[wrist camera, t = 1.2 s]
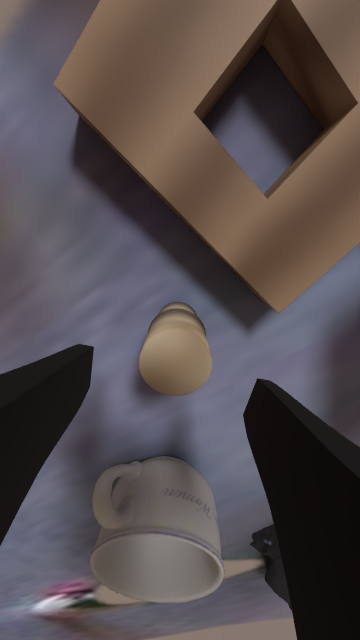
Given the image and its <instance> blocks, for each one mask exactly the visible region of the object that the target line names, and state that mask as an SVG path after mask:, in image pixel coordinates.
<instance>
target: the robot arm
mask: <svg viewBox="0 0 360 640" xmlns="http://www.w3.org/2000/svg"><path fill="white" fill-rule="evenodd" d="M93 350H94V347H93V346H87V345H82V344H78V345H75V346H72V347H69V348H67V349H65V350H62V351H60V352H57V353H55V354H53V355H50V356H48V357H45V358H43V359H41V360H38V361H36V362H33V363H30V364H28V365H25V366H22V367H20V368H17V369H14V370H12V371H9V372H6V373H3V374H0V545H1V543H2V541H3V539H4V537H5V535H6V533H7V532H8V530H9V528H10V526H11V524H12V522H13V520H14V518H15V516H16V514H17V512H18V510H19V508H20V506H21V504H22V502H23V501H24V499H25V497H26V495H27V493H28V491H29V489H30V487H31V486H32V484H33V482H34V480H35V478H36V476H37V474H38V473H39V471H40V469H41V468H42V466H43V464H44V463H45V461H46V459H47V458H48V456H49V455H50V453H51V452H52V450H53V449H54V447H55V445H56V444H57V442H58V441H59V439H60V438H61V436H62V435H63V433H64V432H65V430H66V429H67V427H68V426H69V424H70V422H71V421H72V419H73V418H74V416H75V415H76V413H77V412H78V410H79V408H80V406H81V404H82V402H83V400H84V398H85V396H86V394H87V392H88V390H89V388H90V381H91V370H92V360H93ZM243 417H244V423H245V428H246V433H247V438H248V441H249V444H250V447H251V450H252V453H253V457H254V460H255V463H256V466H257V469H258V472H259V475H260V478H261V481H262V484H263V487H264V490H265V493H266V496H267V499H268V503H269V506H270V510H271V514H272V518H273V522H274V526H275V531H276V535H277V539H278V543H279V548H280V553H281V558H282V562H283V567H284V572H285V576H286V581H287V587H288V592H289V597H290V603H291V608H292V613H293V619H294V623H295V629H296V635H297V640H360V447H358V446H357V445H355V444H354V443H352V442H351V441H349V440H348V439H346V438H345V437H344V436H342V435H341V434H340V433H338V432H337V431H335V430H334V429H333V428H331V427H330V426H329V425H327V424H326V423H325V422H323V421H322V420H321V419H319V418H318V417H317V416H316V415H314V414H313V413H312V412H311V411H309V410H308V409H307V408H305V407H304V406H303V405H302V404H301V403H299V402H298V401H297V400H296V399H294V398H293V397H292V396H291V395H289V394H288V393H287V392H286V391H284V390H283V389H282V388H280V387H279V386H278V385H276V384H275V383H273V382H272V381H269V380H264V379H258V378H257V381H256V383H255V386H254V388H253V391H252V393H251V396H250V398H249V401H248V404H247V406H246V409H245V411H244V414H243Z"/></svg>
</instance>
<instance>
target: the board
mask: <svg viewBox="0 0 360 640" xmlns="http://www.w3.org/2000/svg"><path fill="white" fill-rule="evenodd" d="M262 44H263V46H264V47H265V48H266V50H267V51H268V53H269V54H270V55H271V57H272V58H273V60H274V61H275V62H276V64H277V65H278V67H279V68H280V69H281V71H282V72H283V74H284V75H285V76H286V78H287V79H288V81H289V82H290V83H291V85H292V86H293V88H294V89H295V90H296V92H297V93H298V95H299V96H300V98H301V99H302V100H303V102H304V103H305V105H306V106H307V107H308V109H309V110H310V112H311V113H312V114H313V116H314V117H315V119H316V120H317V121H318V123H319V124H320V126H321V127H322V128H323V131H322V132H321V133H320V134H319V135H318V136H317V138H316V139H315V140H314V141H313V142H312V143H311V144H310V145H309V146H308V147H307V148H306V149H305V150H304V151H303V153H302V154H301V155H300V156H299V157H298V158H297V159H296V160H295V161H294V162H293V163H292V164H291V165H290V167H289V168H288V169H287V170H286V171H285V172H284V173H283V174H282V175H281V176H280V177H279V178H278V179H277V181H276V182H275V183H274V184H273V185H272V186H271V187H270V188H269V189H268V190H267V191H266V192H265V193H264V194H263V193H262V192H261V191H260V190H259V189H258V187H257V186H256V185H255V184H254V183H253V182H252V180H251V179H250V178H249V177H248V176H247V174H246V173H245V172H244V171H243V170H242V169H241V167H240V166H239V165H238V164H237V163H236V162H235V160H234V159H233V158H232V157H231V156H230V154H229V153H228V152H227V151H226V150H225V149H224V147H223V146H222V145H221V144H220V143H219V142H218V140H217V139H216V138H215V137H214V136H213V134H212V133H211V132H210V131H209V130H208V129H207V127H206V126H205V125H204V124H203V123H202V122H203V120H204V119H205V118H206V117H207V115H208V114H209V113H210V111H211V110H212V109H213V108H214V106H215V105H216V104H217V102H218V101H219V100H220V98H221V97H222V96H223V95H224V93H225V92H226V91H227V89H228V88H229V87H230V86H231V84H232V83H233V82H234V80H235V79H236V78H237V76H238V75H239V74H240V73H241V71H242V70H243V69H244V67H245V66H246V65H247V63H248V62H249V61H250V60H251V58H252V57H253V56H254V54H255V53H256V52H257V51H258V49H259V48H260V47H261V45H262ZM53 85H54V86H55V87H56V88H57V89H58V91H59V92H60V93H61V94H62V96H63V97H64V98H65V99H66V100H67V102H68V103H69V104H70V105H71V106H72V108H73V109H74V110H75V111H76V112H77V114H78V115H79V116H80V117H81V118H82V119H83V120H84V121H85V122H86V123H87V124H88V125H89V126H90V127H91V128H92V129H93V130H94V131H95V132H96V133H97V134H98V135H99V136H100V137H101V138H102V139H103V140H104V141H105V142H106V143H107V144H108V145H109V146H110V147H111V148H112V149H113V150H114V151H115V152H116V153H117V154H118V155H119V156H120V157H121V158H122V159H123V160H124V161H125V162H126V163H127V164H128V165H129V166H130V168H131V169H132V170H133V171H134V172H135V173H136V174H137V175H138V176H139V177H140V178H141V179H142V180H143V181H144V182H145V183H146V184H147V185H148V186H149V187H150V188H151V189H152V190H153V191H154V192H155V193H156V194H157V195H158V196H159V197H160V198H161V199H162V200H163V201H164V202H165V203H166V204H167V205H168V206H169V207H170V208H171V209H172V210H173V211H174V212H175V213H176V214H177V215H178V216H179V217H180V218H181V219H182V220H183V221H184V222H185V223H186V224H187V225H188V226H189V227H190V228H191V229H192V230H193V231H194V232H195V233H196V234H197V235H198V236H199V237H200V238H201V239H202V240H203V241H204V242H205V243H206V244H207V245H208V246H209V247H210V248H211V249H212V250H213V251H214V252H215V254H216V255H217V256H218V257H219V258H220V259H221V260H222V261H223V262H224V263H225V264H226V265H227V266H228V267H229V268H230V269H231V270H232V271H233V272H234V273H235V274H236V275H237V276H238V277H239V278H240V279H241V280H242V281H243V282H244V283H245V284H246V285H247V286H248V287H249V288H250V289H251V290H252V291H253V292H254V293H255V294H256V295H257V296H258V297H259V298H260V299H261V300H262V301H263V302H264V303H265V304H267V305H268V306H269V307H270V308H272V309H273V310H274V311H276V312H277V313H278V314H279V313H280V312H282V311H283V310H284V309H285V308H286V307H287V306H288V305H290V304H291V303H292V302H293V301H294V300H295V299H296V298H297V297H299V296H300V295H301V294H302V293H303V292H304V291H305V290H307V289H308V288H309V287H310V286H311V285H312V284H313V283H315V282H316V281H317V280H318V279H319V278H320V277H321V276H322V275H324V274H325V273H326V272H327V271H328V270H329V269H330V268H332V267H333V266H334V265H335V264H336V263H337V262H338V261H339V260H341V259H342V258H343V257H344V256H345V255H346V254H347V253H349V252H350V251H351V250H352V249H353V248H354V247H355V246H356V245H358V244H359V243H360V0H100V2H99V4H98V6H97V7H96V9H95V11H94V13H93V15H92V16H91V18H90V20H89V22H88V23H87V25H86V27H85V29H84V31H83V32H82V34H81V36H80V38H79V39H78V41H77V43H76V45H75V47H74V48H73V50H72V52H71V54H70V55H69V57H68V59H67V61H66V63H65V64H64V66H63V68H62V70H61V71H60V73H59V75H58V77H57V79H56V80H55V82H54V84H53Z"/></svg>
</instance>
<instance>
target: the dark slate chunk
mask: <svg viewBox="0 0 360 640" xmlns="http://www.w3.org/2000/svg"><path fill="white" fill-rule="evenodd" d="M252 538H253V539H254V541H253V542H252V543H251V544H250V545H251V546H253V547H254V548H256V549H257V550H258V551H259V552H260V553H262V554H263V555H264V556H265V559H266V576H265V581H266V582H267V584H268V585H269V586H270V587H271V588H272V590H273V591H274V592H275V593H276V594H278V595H279V596H280V597H281V598H282V599H284V600H285V601H286V602H287V603H288V605H289V608H290V609H291V610H292V608H291V603H290V597H289V592H288V587H287V581H286V576H285V572H284V567H283V562H282V558H281V553H280V548H279V543H278V539H277V535H276V531H275V526H274V524H273V525H271V526H268V527H266V528H263V529H262V530H260V531H258V532H255V533H253V535H252Z"/></svg>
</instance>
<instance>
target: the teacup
mask: <svg viewBox="0 0 360 640" xmlns="http://www.w3.org/2000/svg"><path fill="white" fill-rule="evenodd" d="M117 477H121V478H120V479H119V481H118V483H117V484H116V486H115V488H114V491H113V493H112V485H113V482H114V480H115V479H116V478H117ZM111 493H112V495H111ZM93 511H94V515H95V518H96V519H97V521H98V523H99V524H100V525H101V529H100V532H99V536H98V539H97V542H96V546H95V547H94V549H93V551H92V553H91V556H90V568H91V571H92V573H93V574H94V576H95V577H96V579H97V580H98V581H99V582H100V583H101V584H103V585H104V586H106V587H107V588H109V589H110V590H112V591H115V592H116V593H120V594H122V595H124V596H126V597H130V598H134V599H137V600H142V601H148V602H157V603H167V602H168V603H175V602H188V601H191V600H195V599H199V598H202V597H204V596H206V595H209V594H210V593H212V592H213V591H214V590H216V589H217V588H218V587H219V586H220V584H221V583H222V581H223V578H224V565H223V562H222V559H221V548H220V537H219V528H218V520H217V512H216V506H215V500H214V496H213V493H212V490H211V488H210V486H209V484H208V482H207V481H206V479H205V478H204V477H203V476H202V475H201V474H200V473H199V472H198V471H197V470H196V469H194V468H193V467H191V466H190V465H189V464H187V463H186V462H184V461H182V460H180V459H177V458H174V457H169V456H158V457H153V458H149V459H147V460H145V461H143V462H141V463H140V462H139V461H134V462H131V463H129V464H119V465H115V466H112V467H110V468H109V469H107V470H105V471H104V472H103V473H102V474H101V475H100V477H99V478H98V480H97V482H96V485H95V488H94V492H93Z"/></svg>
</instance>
